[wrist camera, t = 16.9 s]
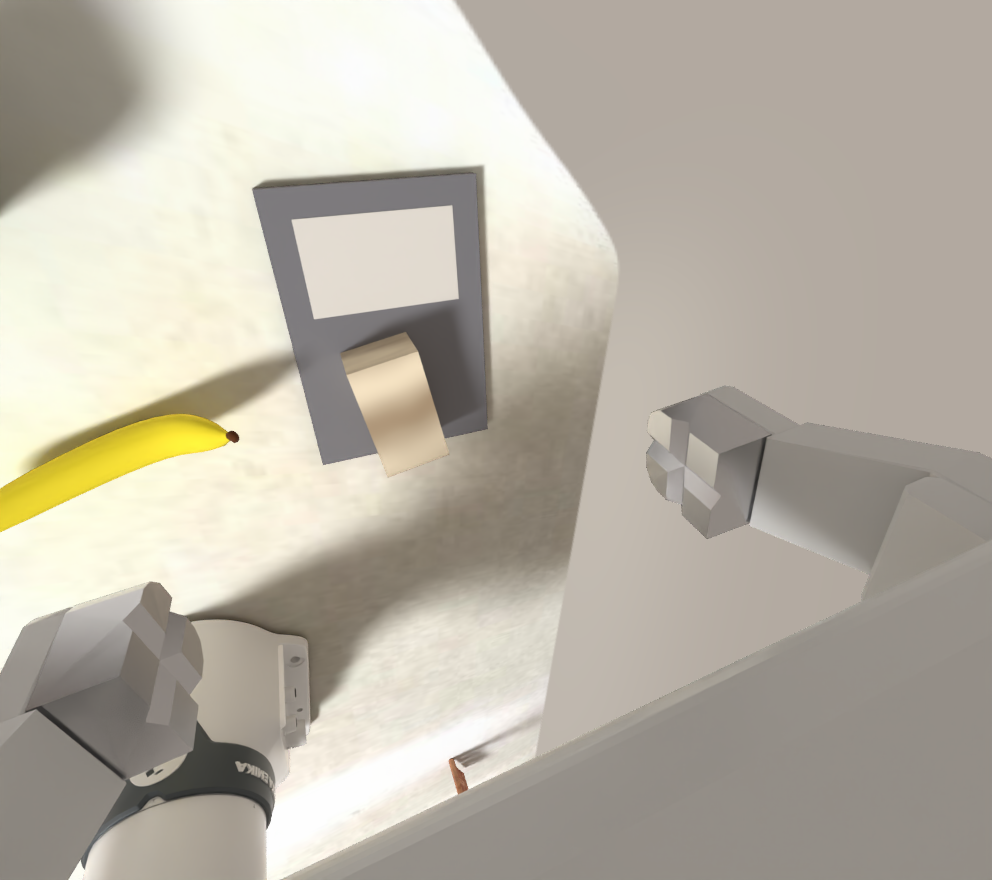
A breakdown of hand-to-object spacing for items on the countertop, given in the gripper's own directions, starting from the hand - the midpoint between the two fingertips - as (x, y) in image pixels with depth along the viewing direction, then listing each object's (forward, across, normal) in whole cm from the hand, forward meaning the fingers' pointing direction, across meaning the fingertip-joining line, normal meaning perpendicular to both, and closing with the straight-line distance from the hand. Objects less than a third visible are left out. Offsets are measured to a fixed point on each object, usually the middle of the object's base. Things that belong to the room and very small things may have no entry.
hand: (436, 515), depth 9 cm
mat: (+31, -3, +8) cm, 32 cm away
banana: (+31, +18, +11) cm, 38 cm away
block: (+30, -2, +13) cm, 33 cm away
